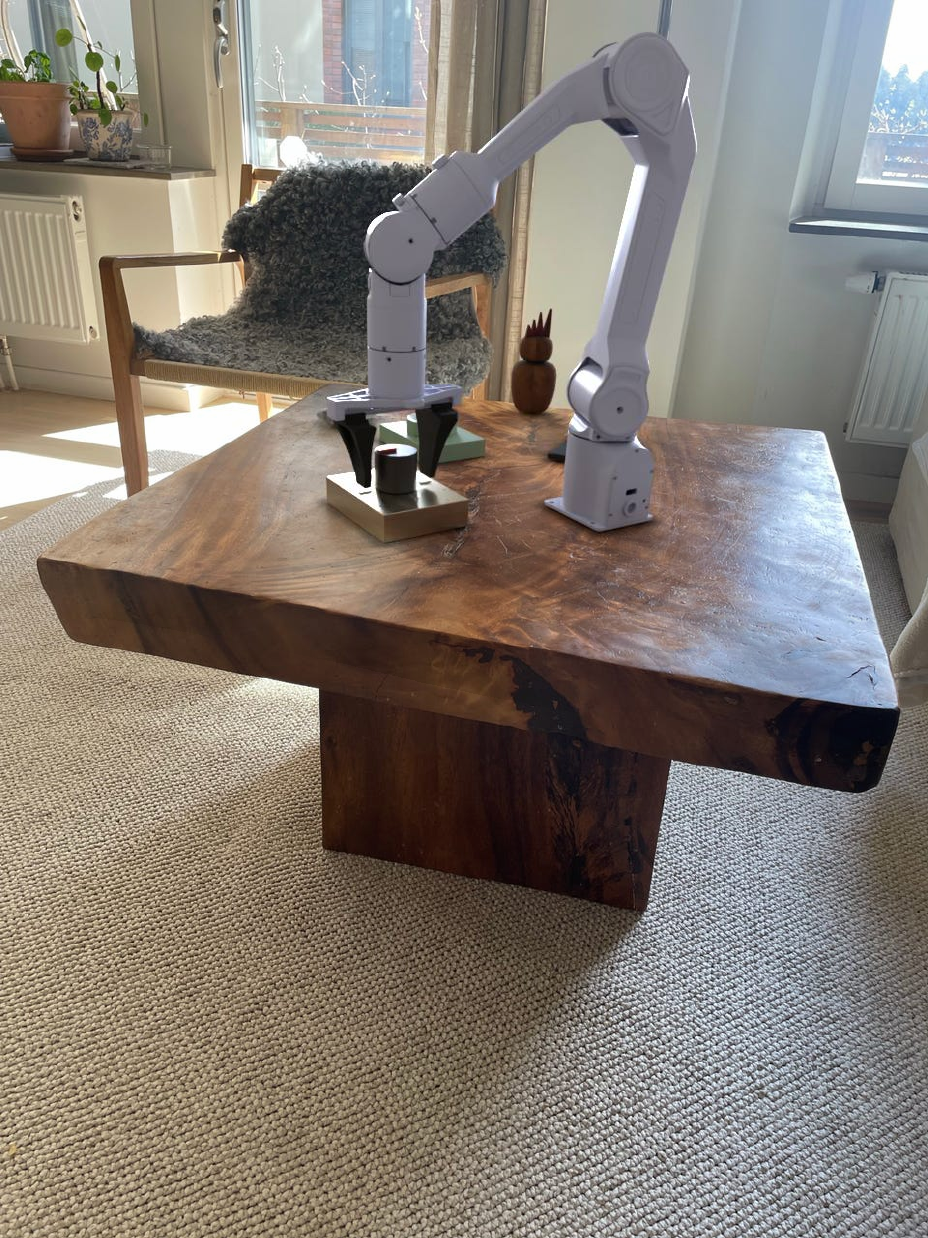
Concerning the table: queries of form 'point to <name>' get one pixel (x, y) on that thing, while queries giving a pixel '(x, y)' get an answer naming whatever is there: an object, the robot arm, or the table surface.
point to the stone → (323, 416)
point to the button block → (455, 447)
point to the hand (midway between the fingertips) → (396, 479)
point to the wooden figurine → (534, 369)
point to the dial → (395, 468)
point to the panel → (398, 507)
